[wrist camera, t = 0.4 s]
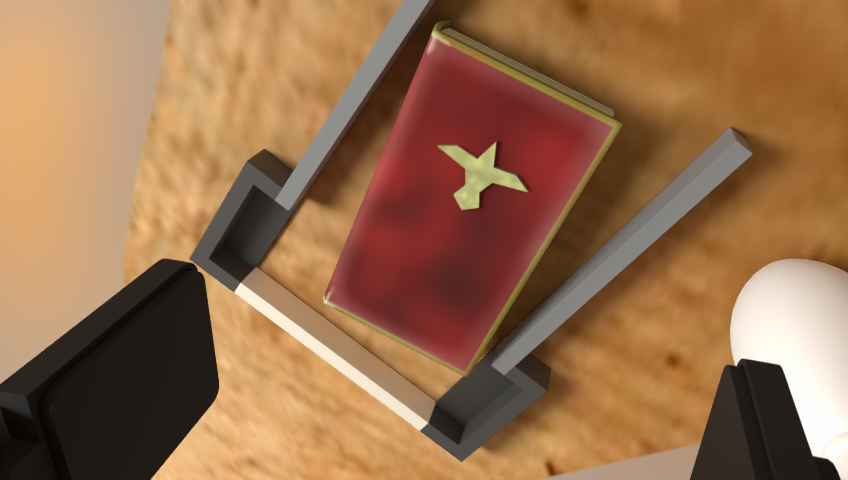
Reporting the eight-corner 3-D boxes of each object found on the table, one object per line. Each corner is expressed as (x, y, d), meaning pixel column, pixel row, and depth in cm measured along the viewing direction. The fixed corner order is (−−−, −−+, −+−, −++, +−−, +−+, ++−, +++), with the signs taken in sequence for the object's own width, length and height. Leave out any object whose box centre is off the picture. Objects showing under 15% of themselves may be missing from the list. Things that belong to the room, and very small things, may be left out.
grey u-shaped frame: (427, -125, 37) (415, -126, 34) (784, 171, 39) (793, 187, 37) (206, 244, 53) (189, 258, 50) (468, 439, 55) (461, 461, 52)
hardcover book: (338, 274, 51) (316, 302, 47) (445, 16, 40) (427, 28, 37) (477, 345, 51) (466, 380, 47) (623, 105, 40) (623, 126, 36)
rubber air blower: (748, 214, 40) (824, 411, 25) (884, 249, 39) (1051, 479, 24) (700, 316, 44) (740, 542, 29) (822, 351, 43) (932, 606, 28)
